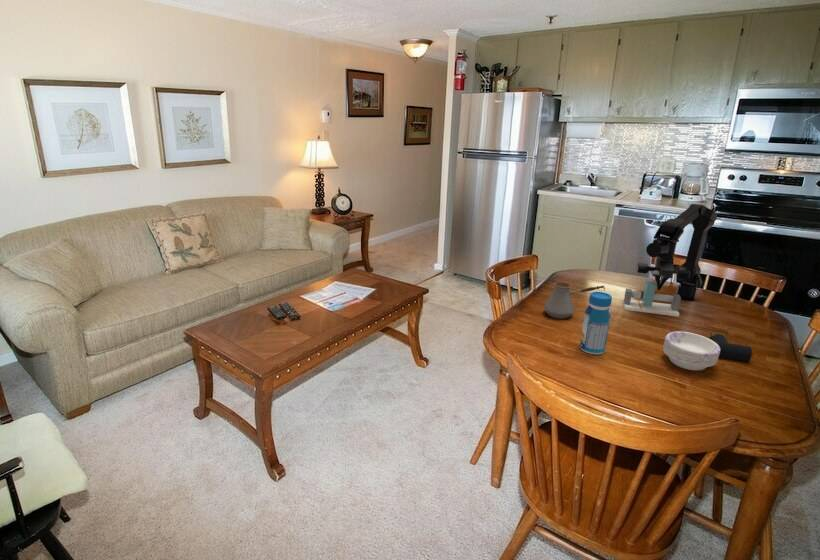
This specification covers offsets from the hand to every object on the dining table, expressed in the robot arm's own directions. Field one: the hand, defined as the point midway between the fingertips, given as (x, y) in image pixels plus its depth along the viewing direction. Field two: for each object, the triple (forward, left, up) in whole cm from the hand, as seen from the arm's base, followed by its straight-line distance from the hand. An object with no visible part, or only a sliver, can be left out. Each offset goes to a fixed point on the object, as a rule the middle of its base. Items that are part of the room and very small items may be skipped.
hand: (658, 290), depth 185 cm
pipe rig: (+2, 0, -9) cm, 9 cm away
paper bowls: (-3, +46, -9) cm, 47 cm away
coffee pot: (+33, +21, -9) cm, 40 cm away
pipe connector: (-15, +33, -9) cm, 37 cm away
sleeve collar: (+3, 0, -6) cm, 7 cm away
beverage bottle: (+26, +47, -9) cm, 54 cm away
